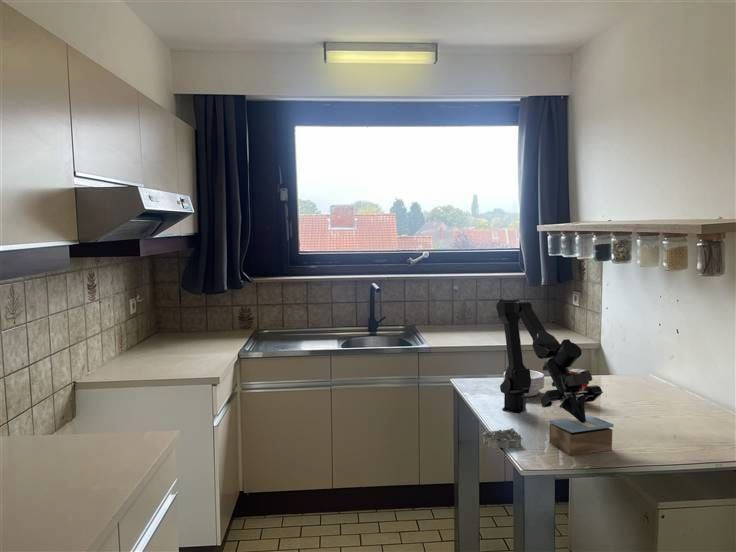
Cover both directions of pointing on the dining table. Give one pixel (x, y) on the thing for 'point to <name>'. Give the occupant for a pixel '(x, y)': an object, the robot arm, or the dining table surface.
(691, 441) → the dining table surface
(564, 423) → the box lid
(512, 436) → the egg carton
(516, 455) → the dining table surface
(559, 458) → the dining table surface
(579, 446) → the walnut box
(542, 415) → the dining table surface
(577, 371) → the soda can
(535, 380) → the paper bowls
